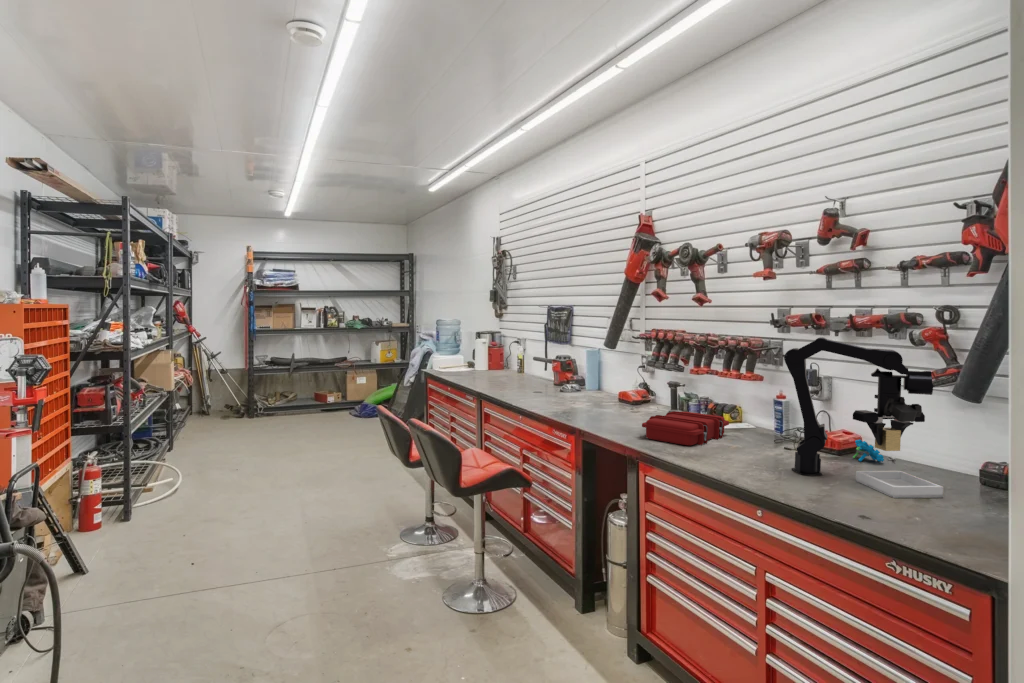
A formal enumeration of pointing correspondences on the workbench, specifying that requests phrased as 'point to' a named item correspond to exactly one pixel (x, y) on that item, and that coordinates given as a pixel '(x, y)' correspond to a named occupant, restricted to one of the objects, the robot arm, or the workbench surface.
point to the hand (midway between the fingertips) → (887, 445)
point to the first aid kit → (685, 428)
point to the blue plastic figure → (867, 451)
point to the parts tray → (899, 484)
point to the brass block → (890, 440)
